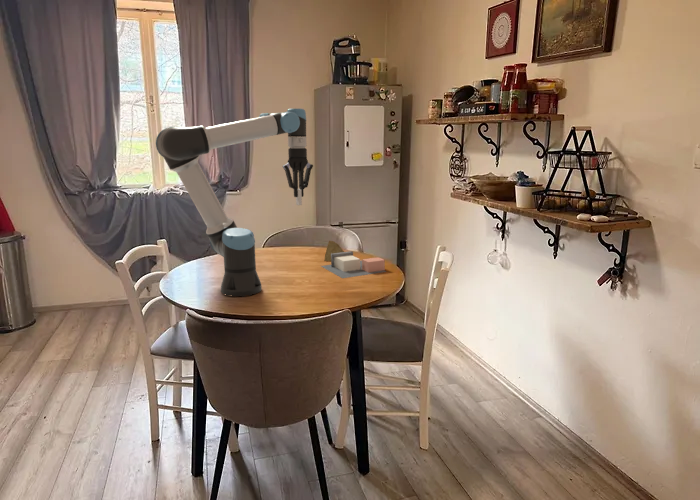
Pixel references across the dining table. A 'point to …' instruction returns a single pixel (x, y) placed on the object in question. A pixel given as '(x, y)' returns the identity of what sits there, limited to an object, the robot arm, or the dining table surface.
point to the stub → (373, 264)
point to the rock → (332, 250)
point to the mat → (349, 273)
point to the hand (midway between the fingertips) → (298, 204)
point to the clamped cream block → (345, 261)
